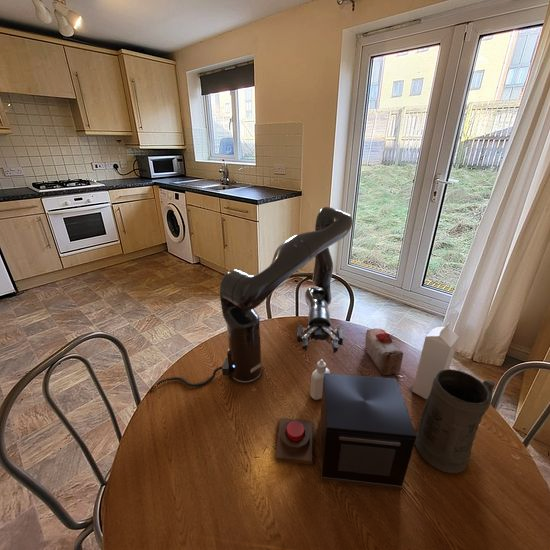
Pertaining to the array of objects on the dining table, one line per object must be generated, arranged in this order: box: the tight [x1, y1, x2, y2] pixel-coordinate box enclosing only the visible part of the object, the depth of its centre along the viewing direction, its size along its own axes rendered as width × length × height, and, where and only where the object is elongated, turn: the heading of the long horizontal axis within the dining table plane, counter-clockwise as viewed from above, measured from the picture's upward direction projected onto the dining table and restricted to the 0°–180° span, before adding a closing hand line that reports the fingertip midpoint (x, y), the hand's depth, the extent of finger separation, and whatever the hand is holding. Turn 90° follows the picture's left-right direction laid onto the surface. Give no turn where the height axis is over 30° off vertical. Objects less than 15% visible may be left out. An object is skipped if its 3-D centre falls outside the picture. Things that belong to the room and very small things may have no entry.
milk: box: [411, 321, 460, 401], centre depth 77 cm, size 6×6×22 cm
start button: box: [287, 421, 304, 442], centre depth 67 cm, size 4×4×2 cm
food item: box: [364, 328, 404, 376], centre depth 92 cm, size 14×8×10 cm, turn 9°
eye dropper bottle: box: [309, 358, 331, 401], centre depth 79 cm, size 4×6×12 cm
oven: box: [319, 373, 417, 490], centre depth 63 cm, size 16×14×16 cm
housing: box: [275, 417, 313, 465], centre depth 68 cm, size 8×10×3 cm
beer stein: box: [414, 369, 496, 474], centre depth 63 cm, size 15×11×20 cm
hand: (320, 350), depth 87 cm, fingers open, 8 cm apart
